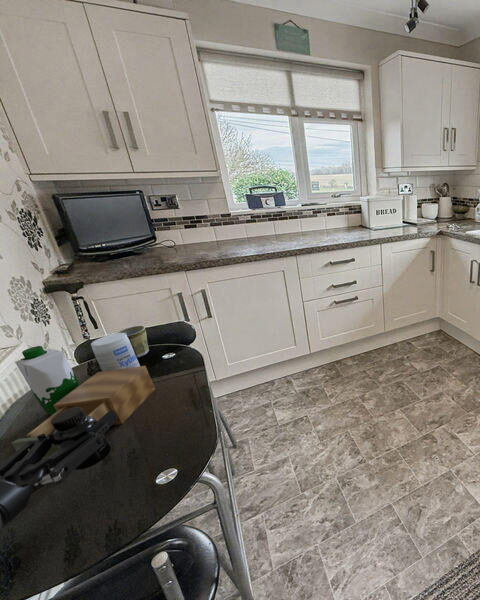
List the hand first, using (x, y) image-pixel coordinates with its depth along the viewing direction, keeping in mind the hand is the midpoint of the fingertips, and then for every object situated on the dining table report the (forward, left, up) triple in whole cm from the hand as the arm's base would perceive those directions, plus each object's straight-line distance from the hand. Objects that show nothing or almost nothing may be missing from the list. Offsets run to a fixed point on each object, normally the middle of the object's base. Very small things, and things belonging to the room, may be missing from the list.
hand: (96, 416), depth 73 cm
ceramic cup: (-30, +58, -12) cm, 67 cm away
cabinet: (-14, +21, -12) cm, 28 cm away
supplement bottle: (0, -5, -7) cm, 9 cm away
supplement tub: (-23, +40, -12) cm, 48 cm away
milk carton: (-30, +25, -12) cm, 41 cm away
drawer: (-14, +6, -11) cm, 19 cm away
